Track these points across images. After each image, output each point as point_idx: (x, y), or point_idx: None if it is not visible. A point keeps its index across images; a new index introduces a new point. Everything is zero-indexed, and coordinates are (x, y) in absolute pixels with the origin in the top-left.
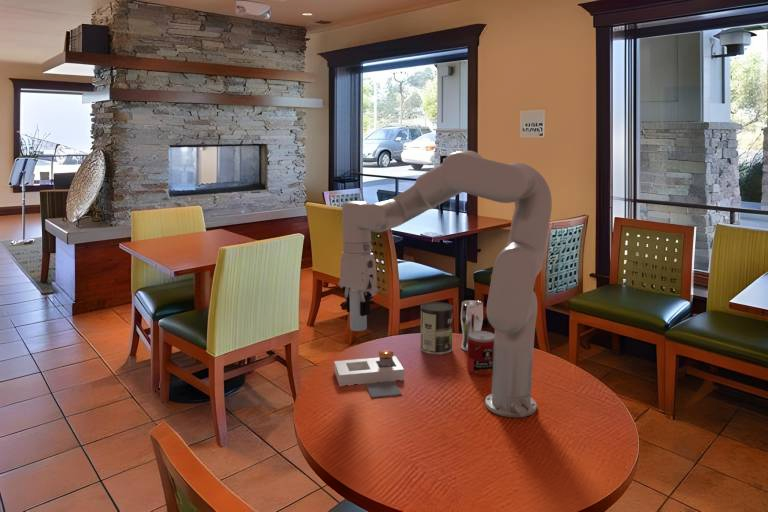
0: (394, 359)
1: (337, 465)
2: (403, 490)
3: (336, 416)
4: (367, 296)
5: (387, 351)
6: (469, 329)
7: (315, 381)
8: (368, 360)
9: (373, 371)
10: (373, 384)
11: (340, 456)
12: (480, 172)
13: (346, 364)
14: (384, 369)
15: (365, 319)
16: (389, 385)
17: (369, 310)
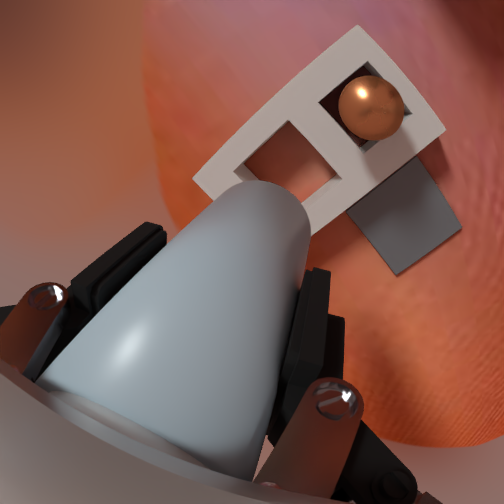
0: (373, 56)
1: (407, 437)
2: (485, 432)
3: (354, 363)
4: (340, 493)
5: (371, 93)
6: None
7: None
8: (290, 109)
9: (360, 191)
10: (368, 204)
11: (405, 427)
12: None
13: (242, 181)
14: (387, 159)
15: (304, 266)
16: (415, 190)
17: (342, 321)
